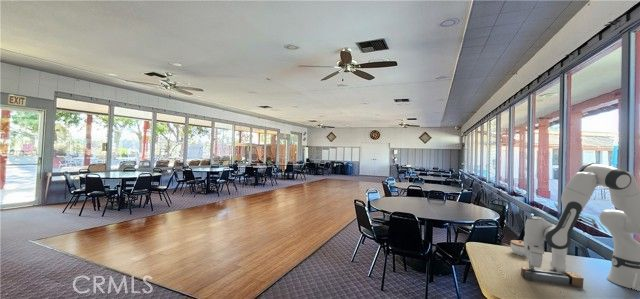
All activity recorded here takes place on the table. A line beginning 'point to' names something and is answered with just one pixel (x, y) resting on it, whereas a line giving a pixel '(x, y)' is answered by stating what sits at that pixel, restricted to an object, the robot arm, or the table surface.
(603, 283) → the table surface
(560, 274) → the tong arm
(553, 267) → the water bottle
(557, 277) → the tong base
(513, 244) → the lidded jar
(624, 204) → the robot arm
